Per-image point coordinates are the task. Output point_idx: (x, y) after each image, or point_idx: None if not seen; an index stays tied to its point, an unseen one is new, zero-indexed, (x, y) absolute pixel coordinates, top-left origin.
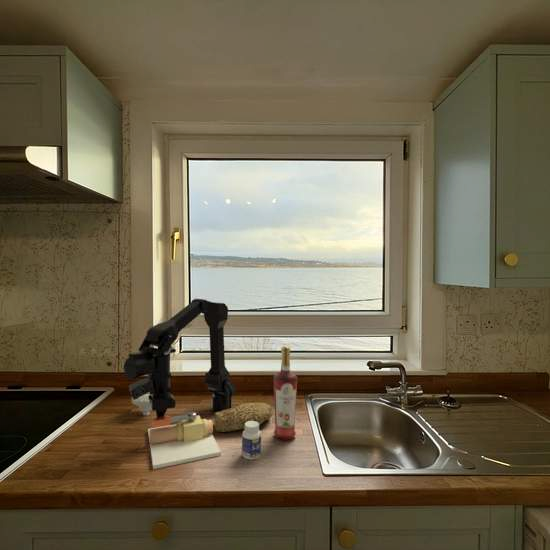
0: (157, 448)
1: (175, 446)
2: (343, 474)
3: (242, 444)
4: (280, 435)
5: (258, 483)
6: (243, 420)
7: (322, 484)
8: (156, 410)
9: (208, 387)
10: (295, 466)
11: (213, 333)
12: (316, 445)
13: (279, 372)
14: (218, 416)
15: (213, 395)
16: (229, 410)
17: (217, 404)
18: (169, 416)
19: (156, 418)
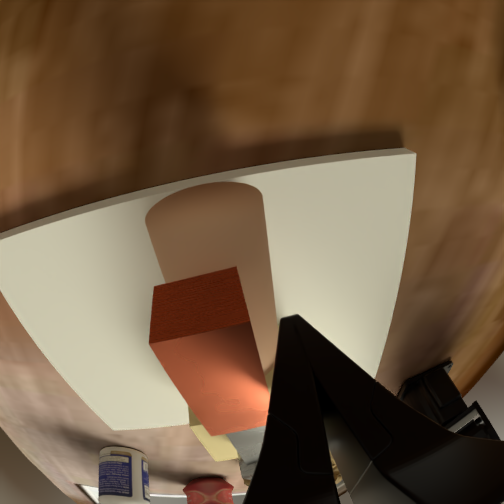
0: (128, 241)
1: (147, 324)
2: (84, 491)
3: (112, 474)
4: (188, 490)
5: (23, 440)
6: (249, 483)
7: (54, 477)
8: (262, 448)
9: (474, 429)
10: (92, 476)
11: None
12: (167, 494)
13: None
14: None
15: (456, 408)
16: None
17: (424, 402)
18: (249, 427)
19: (230, 364)
